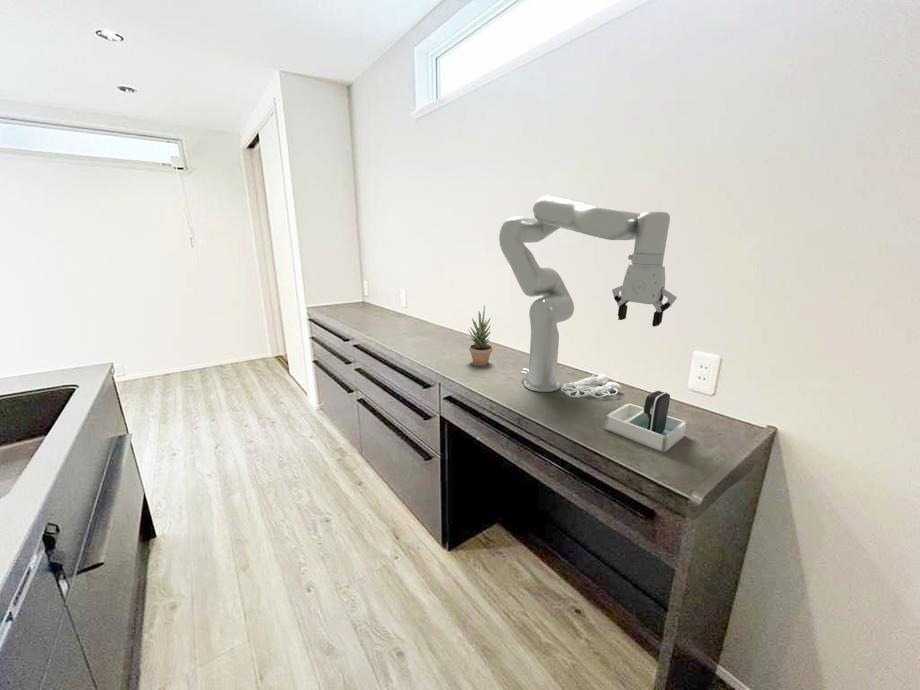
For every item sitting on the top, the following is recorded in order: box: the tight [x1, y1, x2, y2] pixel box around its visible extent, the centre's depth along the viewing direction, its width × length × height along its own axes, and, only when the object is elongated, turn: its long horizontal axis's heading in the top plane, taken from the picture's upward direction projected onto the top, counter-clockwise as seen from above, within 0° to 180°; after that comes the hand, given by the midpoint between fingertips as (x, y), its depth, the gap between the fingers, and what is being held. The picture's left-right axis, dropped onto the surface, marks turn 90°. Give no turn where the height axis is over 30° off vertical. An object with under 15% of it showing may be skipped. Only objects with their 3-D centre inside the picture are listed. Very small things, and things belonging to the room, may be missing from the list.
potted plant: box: [468, 304, 494, 367], centre depth 157 cm, size 10×10×25 cm
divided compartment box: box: [603, 402, 688, 453], centre depth 104 cm, size 16×13×4 cm
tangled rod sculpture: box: [561, 373, 622, 399], centre depth 132 cm, size 19×14×4 cm
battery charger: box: [643, 390, 671, 434], centre depth 101 cm, size 7×4×11 cm, turn 128°
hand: (638, 322), depth 108 cm, fingers open, 9 cm apart
